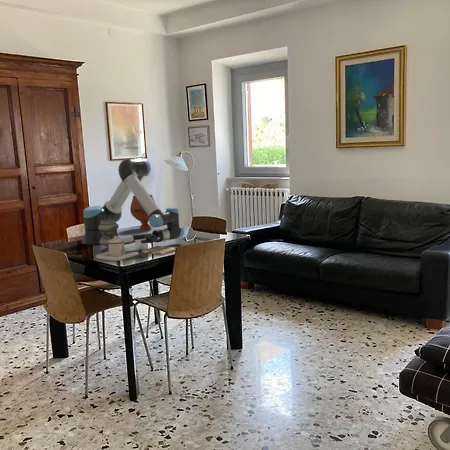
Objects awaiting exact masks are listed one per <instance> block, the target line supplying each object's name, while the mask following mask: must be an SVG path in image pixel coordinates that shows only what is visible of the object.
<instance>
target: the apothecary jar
mask: <svg viewBox="0 0 450 450" xmlns="http://www.w3.org/2000/svg"><path fill="white" fill-rule="evenodd" d="M119 227H120V226H119V223H117V222H115V220H103V221H101V224H100V225H99V227H98V229H99V230H100V231H101V239H100V244H99V245H101V246H103V247H105V248H103V249H102V253H105V252H109V247H108V241H109V240H111V239H113V238H114V236H117V238H120V237H119V236H118V229H119Z"/></svg>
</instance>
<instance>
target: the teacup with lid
mask: <svg viewBox="0 0 450 450" xmlns="http://www.w3.org/2000/svg"><path fill="white" fill-rule="evenodd" d="M108 247H109V255H108V256H109V257H120V256H123V255H126V251H125V249H126V248H125V242H124V240H123V238H121V237H119V238H117V236H114V238H113V239H111V240H109V241H108Z"/></svg>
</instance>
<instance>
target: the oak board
mask: <svg viewBox="0 0 450 450" xmlns="http://www.w3.org/2000/svg"><path fill="white" fill-rule="evenodd" d="M175 248H176V247H173V246H161V245H157V246H153V247H149V248H145V249H142V250H140V251H141V254H148V255H158V256H164V255H168V254H170V253H173V252H176V251H175Z"/></svg>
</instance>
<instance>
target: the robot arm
mask: <svg viewBox="0 0 450 450" xmlns="http://www.w3.org/2000/svg"><path fill="white" fill-rule="evenodd" d="M117 168H118V175H119V177H120V179H121V181H120V182H119V185H118V186H117V188H116V189H115V191H114V193H113V194H112V196H111V197H110V199H109V200H106V201H105V202H104V205H103V206H100V205H93V206H89V207H86V208H84V209H83V212H82V213H83V222H84V223H83V224H84V235H83V240H82V243H83V245H84V244H85V245H84V246H94V245H95V246H97V245H101V244H100V239H101V231H100V230H99V229H98V227H99V225H100V224H101V221H103V220H115V222H116V223H117V222H119V221H120V220H121V218H122V216H123V215H122V212H123V211H122V207H123V206H124V204H125V202H126V200H127V198H128V197H129V195H130V194H131V193H132V194H133V196H135V197H136V198H137V200H138V201H139V203H140V204H141V205H142V207H143V208H144V210H145V211H146V213H147V214H148V216H149V217H150V218H149V221H148V224H149V226H150V227H151V228H160V227H164V226H166V227H165V228H160V229H154V230H153V231H152V232H151V233H144V234H141V233H140V234H131V235H129V236H125V237H124V236H123V237H122V239H123V240H124V243H128V242H134V243H135V246H138V245H139V246H140V245H145V244H153V243H156V244H157V243H161V242H165V243H166V242H167V241H172V240H178V239H180V238H182V237H184V235H185V231H184V227H183V226H181V225H180V214H179V209H178V207H177V206H175V207H174V206H172V207H167V208H165V212H162V210H161V208H159V206H158V204H157V203H156V201H155V200H154V201H155V202H154V201H153V199H154V198H153V199H152V198H151V196H150V195H151V194H150V193H149V192H148V191H147V189H146V188H145V187H144V185H143V183H142V182H141V181H142V180H143V178H144V177H148V176H149V175H150V173H151V164H150V162H149V160H148V159H146V158H144V157H135V158H125V159H122V161H121V162H120V163H119V165H118V167H117Z"/></svg>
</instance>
